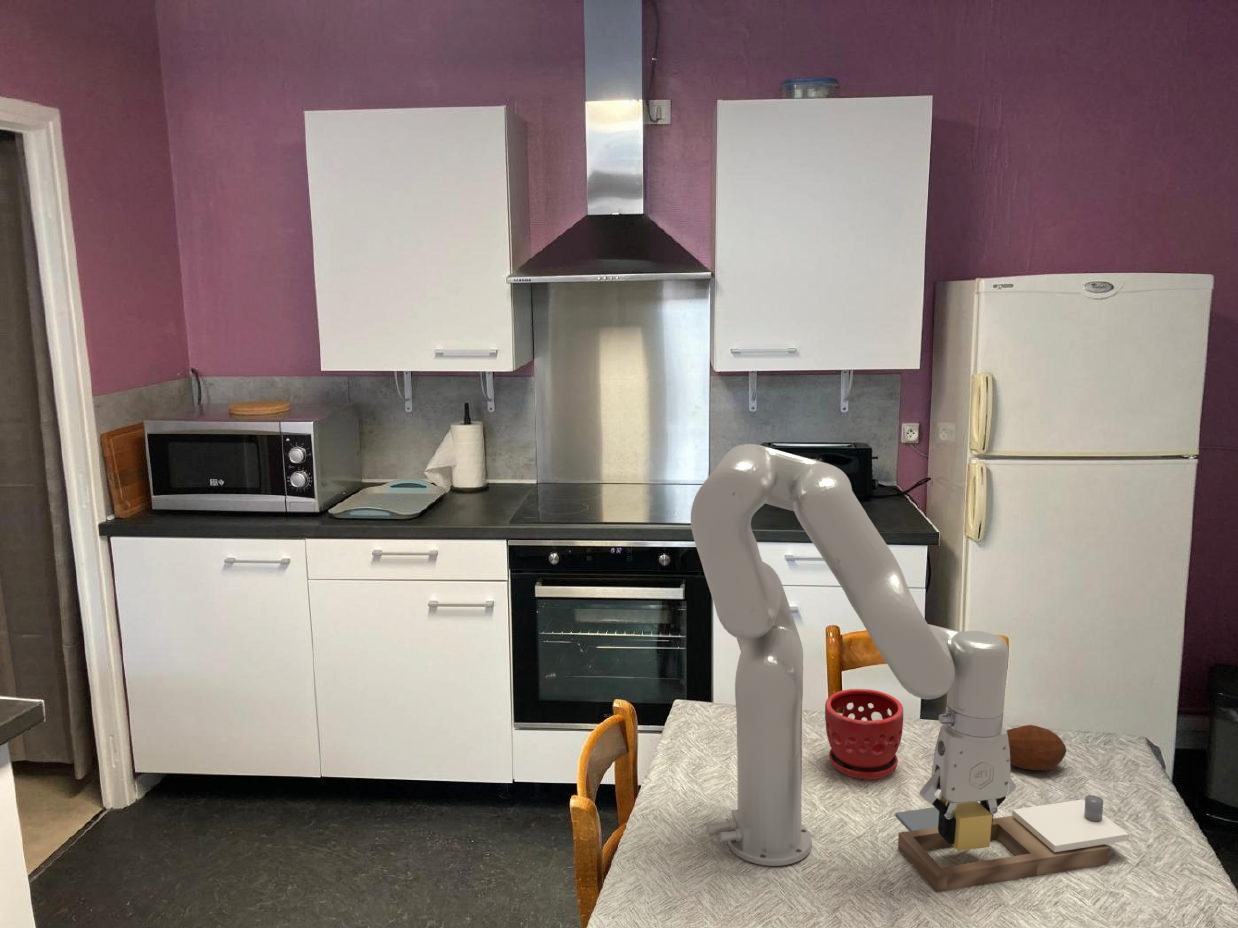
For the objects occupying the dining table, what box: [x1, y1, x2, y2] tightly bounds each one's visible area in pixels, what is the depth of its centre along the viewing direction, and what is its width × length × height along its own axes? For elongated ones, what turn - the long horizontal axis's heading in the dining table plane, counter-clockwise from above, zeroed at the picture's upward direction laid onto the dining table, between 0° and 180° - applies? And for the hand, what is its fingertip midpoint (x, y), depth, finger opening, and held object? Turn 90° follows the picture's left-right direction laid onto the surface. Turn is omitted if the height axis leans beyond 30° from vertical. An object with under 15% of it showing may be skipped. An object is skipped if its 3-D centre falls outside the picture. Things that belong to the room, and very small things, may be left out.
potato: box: [1006, 724, 1067, 771], centre depth 167 cm, size 8×11×8 cm
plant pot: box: [824, 688, 904, 780], centre depth 168 cm, size 13×13×12 cm
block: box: [946, 801, 992, 852], centre depth 140 cm, size 5×5×5 cm
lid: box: [1011, 794, 1130, 852], centre depth 143 cm, size 12×10×4 cm
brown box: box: [897, 815, 1110, 893], centre depth 142 cm, size 27×11×2 cm, turn 102°
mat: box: [894, 806, 939, 831], centre depth 150 cm, size 8×8×1 cm
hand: (964, 835), depth 140 cm, fingers closed on block, 5 cm apart
